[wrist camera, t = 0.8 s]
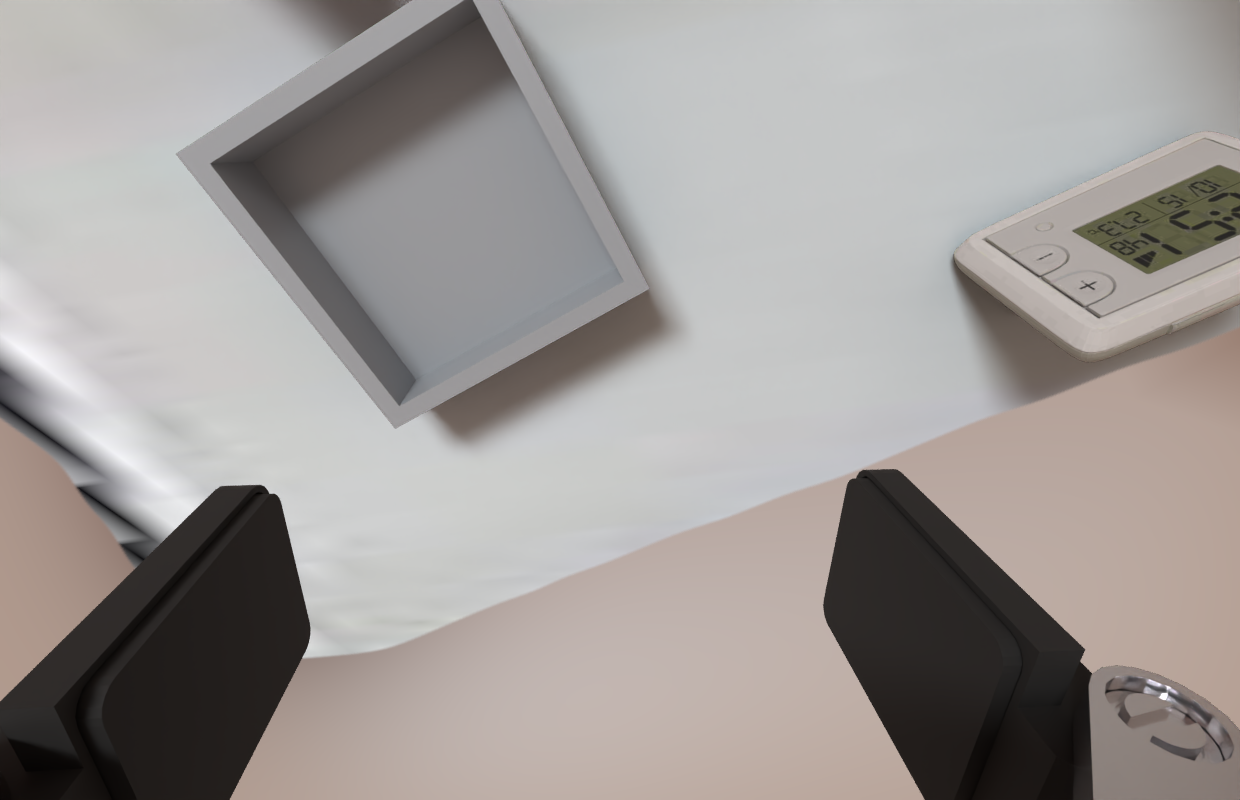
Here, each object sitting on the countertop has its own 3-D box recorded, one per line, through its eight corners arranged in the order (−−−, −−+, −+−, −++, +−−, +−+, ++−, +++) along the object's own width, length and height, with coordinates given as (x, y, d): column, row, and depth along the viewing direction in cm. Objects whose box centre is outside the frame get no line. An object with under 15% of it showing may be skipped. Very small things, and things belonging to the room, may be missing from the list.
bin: (490, -13, 29) (477, -43, 25) (638, 270, 35) (649, 288, 31) (232, 152, 31) (175, 153, 27) (415, 394, 37) (395, 428, 33)
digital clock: (1210, 124, 35) (1459, 116, 25) (1186, 272, 39) (1395, 314, 29) (944, 191, 35) (1089, 208, 26) (945, 332, 39) (1072, 394, 29)
